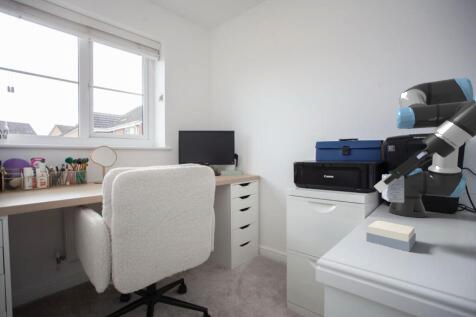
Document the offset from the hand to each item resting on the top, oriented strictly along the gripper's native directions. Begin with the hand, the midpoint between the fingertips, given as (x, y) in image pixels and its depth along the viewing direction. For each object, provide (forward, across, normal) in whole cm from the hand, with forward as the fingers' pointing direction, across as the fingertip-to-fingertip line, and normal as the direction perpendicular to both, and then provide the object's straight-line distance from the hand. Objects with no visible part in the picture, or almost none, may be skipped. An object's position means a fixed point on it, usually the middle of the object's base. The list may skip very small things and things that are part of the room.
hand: (381, 188), depth 77 cm
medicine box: (+1, 0, -5) cm, 5 cm away
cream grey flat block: (+10, 0, -15) cm, 18 cm away
